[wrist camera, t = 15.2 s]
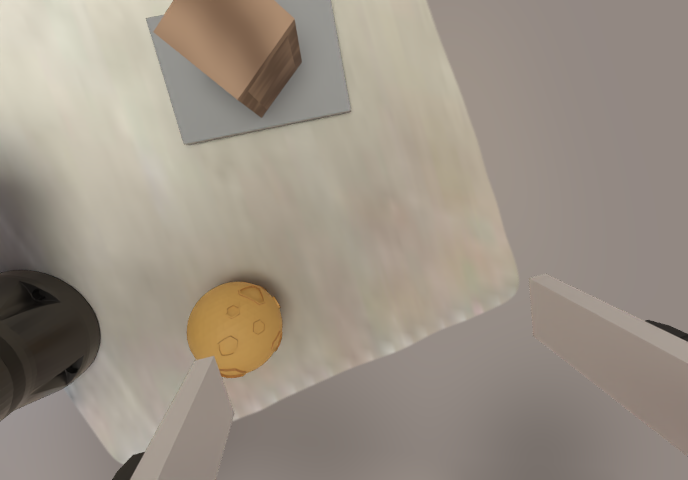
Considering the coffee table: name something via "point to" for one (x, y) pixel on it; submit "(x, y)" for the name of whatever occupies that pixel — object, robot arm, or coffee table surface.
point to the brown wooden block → (236, 45)
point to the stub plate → (289, 106)
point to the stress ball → (235, 327)
